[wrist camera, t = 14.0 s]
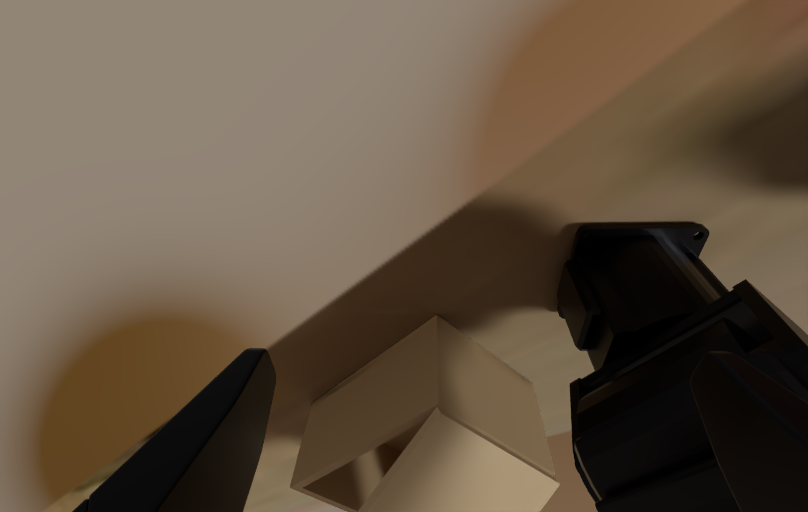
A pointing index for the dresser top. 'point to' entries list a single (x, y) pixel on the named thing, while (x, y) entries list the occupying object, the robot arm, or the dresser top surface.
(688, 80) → the dresser top surface
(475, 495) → the carton lid
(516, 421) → the carton
